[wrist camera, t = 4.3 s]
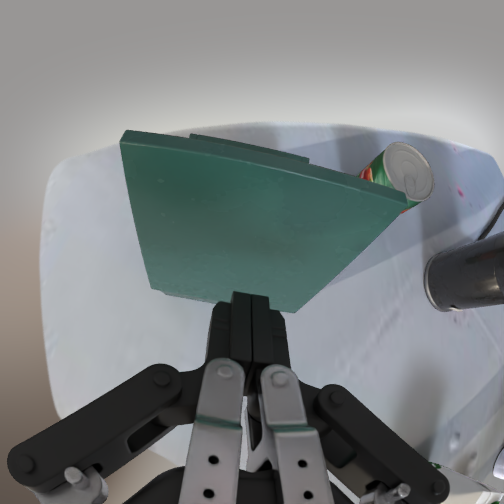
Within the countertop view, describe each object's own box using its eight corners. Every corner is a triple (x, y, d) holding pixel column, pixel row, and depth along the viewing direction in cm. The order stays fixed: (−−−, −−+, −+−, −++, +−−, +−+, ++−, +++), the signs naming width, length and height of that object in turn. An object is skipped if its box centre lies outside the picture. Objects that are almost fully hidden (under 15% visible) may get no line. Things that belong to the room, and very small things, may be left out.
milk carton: (406, 501, 33) (481, 546, 14) (372, 494, 33) (451, 552, 14) (433, 459, 35) (518, 492, 16) (403, 449, 35) (496, 490, 16)
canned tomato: (346, 170, 43) (383, 132, 32) (389, 186, 44) (432, 155, 33) (341, 219, 41) (384, 188, 30) (388, 233, 42) (436, 209, 31)
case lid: (125, 128, 11) (118, 141, 11) (405, 191, 13) (408, 205, 12) (152, 280, 25) (150, 288, 25) (295, 305, 27) (294, 313, 27)
